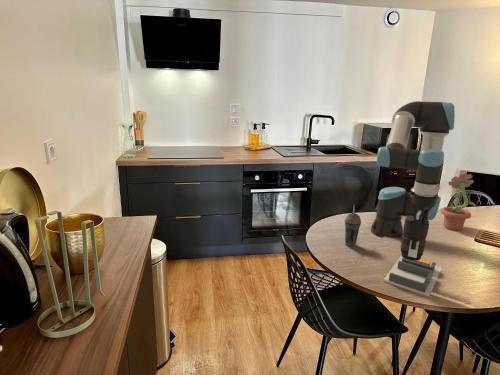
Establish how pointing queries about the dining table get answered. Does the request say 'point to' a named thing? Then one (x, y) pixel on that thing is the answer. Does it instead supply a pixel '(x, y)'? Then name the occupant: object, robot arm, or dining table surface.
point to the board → (413, 276)
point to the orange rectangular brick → (424, 261)
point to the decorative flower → (457, 215)
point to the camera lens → (406, 242)
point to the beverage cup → (352, 228)
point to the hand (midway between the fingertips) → (415, 252)
